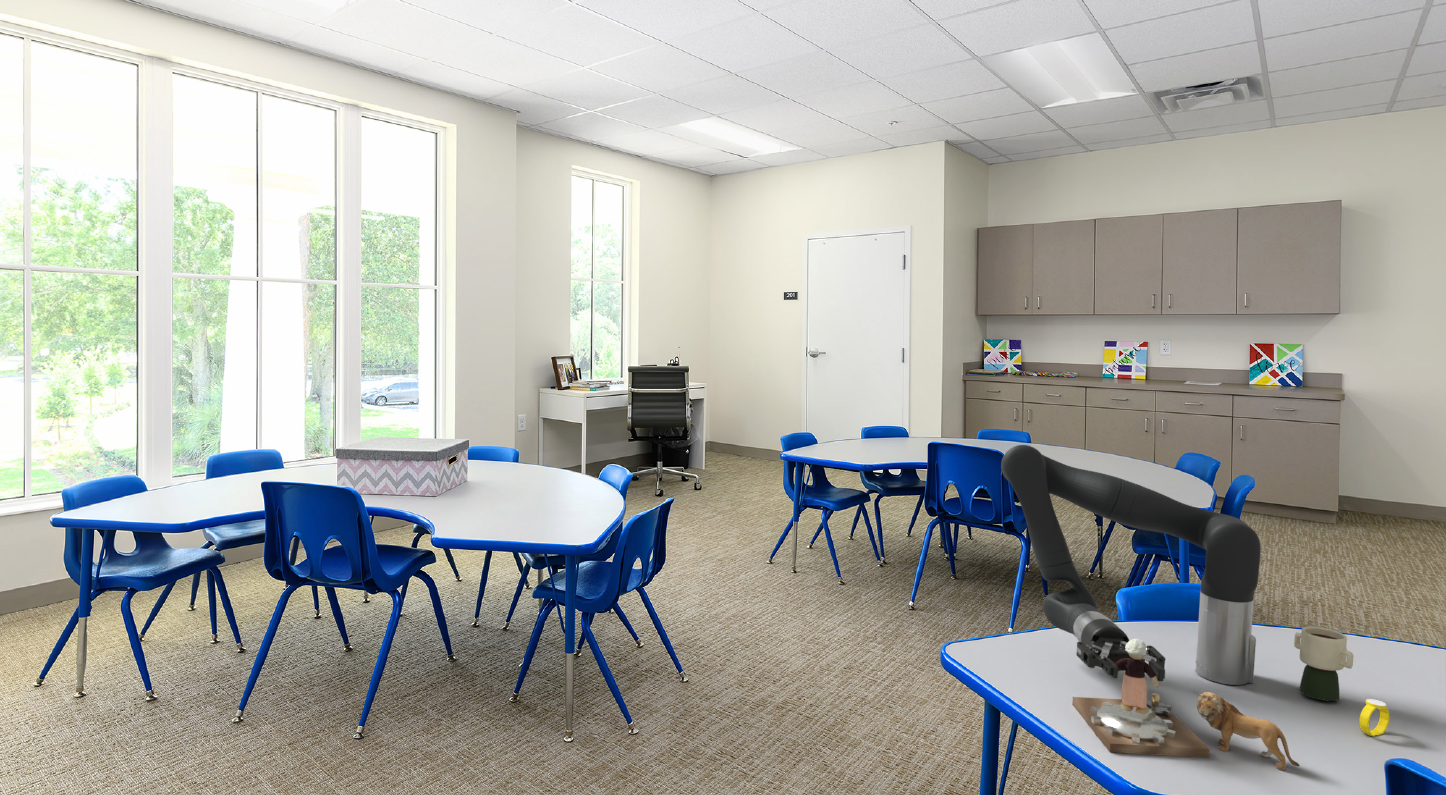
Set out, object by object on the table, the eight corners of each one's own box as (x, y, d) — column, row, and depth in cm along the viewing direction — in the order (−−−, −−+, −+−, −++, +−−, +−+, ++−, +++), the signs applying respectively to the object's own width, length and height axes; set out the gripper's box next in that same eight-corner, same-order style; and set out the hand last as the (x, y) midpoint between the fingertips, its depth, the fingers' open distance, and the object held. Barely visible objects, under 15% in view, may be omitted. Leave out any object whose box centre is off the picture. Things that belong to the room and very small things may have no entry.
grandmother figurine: (1153, 707, 136) (1159, 638, 135) (1157, 717, 132) (1163, 647, 131) (1105, 699, 138) (1110, 632, 137) (1108, 709, 135) (1114, 640, 134)
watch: (1374, 729, 139) (1378, 697, 138) (1392, 736, 136) (1396, 704, 136) (1353, 732, 137) (1357, 699, 136) (1370, 740, 134) (1374, 707, 134)
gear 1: (1153, 709, 141) (1153, 704, 141) (1190, 746, 128) (1190, 740, 128) (1078, 705, 142) (1078, 700, 142) (1107, 742, 129) (1107, 736, 129)
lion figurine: (1192, 745, 132) (1195, 695, 131) (1196, 733, 136) (1199, 684, 135) (1299, 776, 123) (1303, 722, 122) (1299, 762, 127) (1303, 709, 126)
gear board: (1159, 708, 145) (1160, 701, 145) (1208, 757, 128) (1209, 749, 128) (1072, 704, 146) (1072, 696, 146) (1109, 752, 129) (1110, 743, 129)
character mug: (1362, 708, 146) (1367, 641, 145) (1335, 712, 144) (1340, 645, 143) (1304, 683, 157) (1309, 621, 156) (1278, 687, 155) (1282, 624, 154)
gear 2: (1163, 704, 143) (1164, 689, 143) (1177, 718, 138) (1178, 702, 138) (1133, 703, 144) (1133, 687, 143) (1145, 716, 139) (1146, 700, 138)
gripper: (1063, 616, 149) (1097, 651, 133) (1139, 620, 148) (1183, 656, 132) (1061, 653, 150) (1094, 693, 133) (1137, 657, 149) (1180, 698, 132)
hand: (1138, 674), depth 133 cm, fingers closed on grandmother figurine, 7 cm apart
